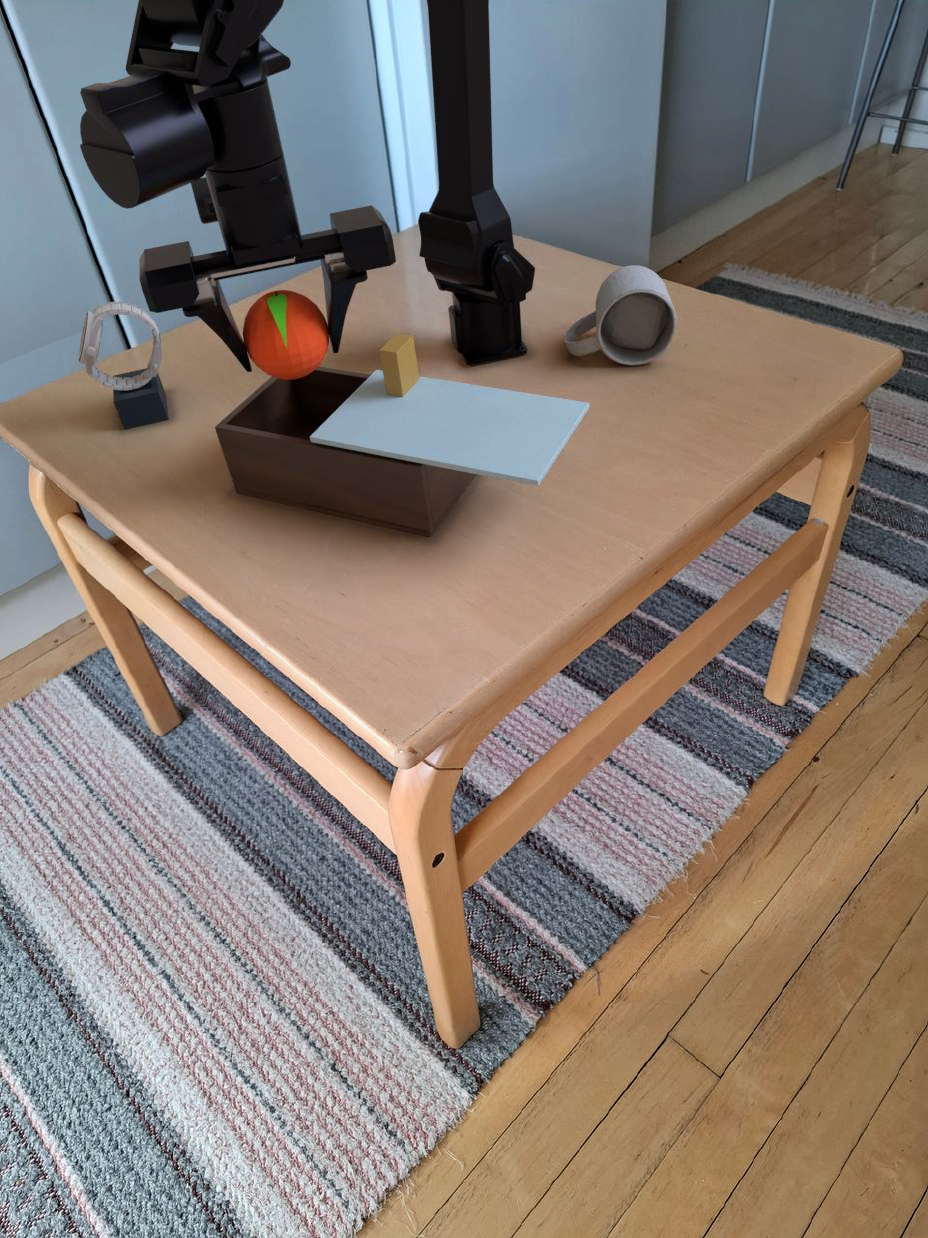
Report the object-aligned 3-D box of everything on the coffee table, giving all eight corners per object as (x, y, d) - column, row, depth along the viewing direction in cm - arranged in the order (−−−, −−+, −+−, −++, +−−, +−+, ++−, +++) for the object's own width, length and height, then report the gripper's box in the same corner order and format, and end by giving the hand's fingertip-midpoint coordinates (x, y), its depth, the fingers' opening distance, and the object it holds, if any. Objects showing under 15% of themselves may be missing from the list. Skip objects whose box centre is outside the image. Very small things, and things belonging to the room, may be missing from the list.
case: (304, 425, 87) (288, 361, 82) (488, 460, 80) (482, 391, 75) (236, 493, 80) (214, 426, 75) (430, 537, 73) (420, 467, 68)
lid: (377, 374, 79) (368, 325, 76) (589, 408, 72) (589, 355, 68) (310, 442, 72) (298, 391, 69) (538, 486, 65) (535, 432, 62)
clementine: (343, 392, 73) (325, 308, 68) (257, 408, 72) (233, 325, 67) (331, 347, 79) (315, 266, 74) (252, 362, 78) (230, 282, 73)
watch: (104, 407, 93) (61, 305, 86) (182, 389, 94) (147, 287, 87) (104, 434, 89) (60, 330, 82) (186, 415, 90) (149, 311, 83)
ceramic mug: (664, 324, 95) (667, 251, 89) (675, 363, 89) (679, 287, 84) (562, 333, 96) (560, 262, 90) (566, 372, 90) (564, 298, 85)
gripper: (353, 105, 70) (384, 297, 81) (111, 149, 68) (176, 340, 79) (380, 146, 63) (410, 353, 73) (108, 197, 60) (181, 403, 71)
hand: (292, 360), depth 74 cm, fingers closed on clementine, 7 cm apart
